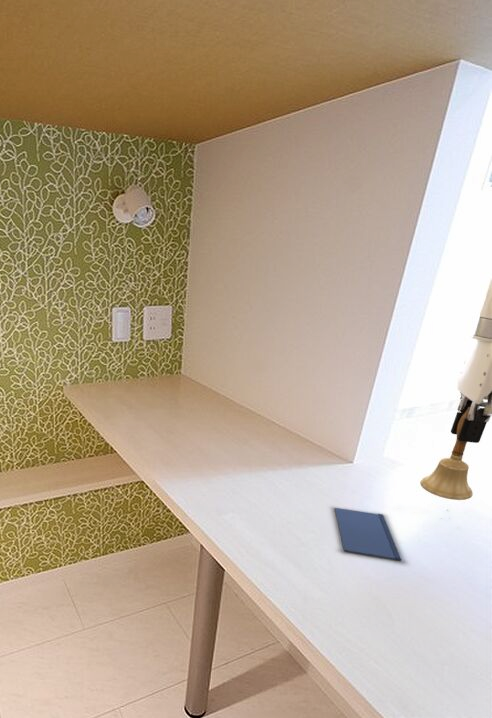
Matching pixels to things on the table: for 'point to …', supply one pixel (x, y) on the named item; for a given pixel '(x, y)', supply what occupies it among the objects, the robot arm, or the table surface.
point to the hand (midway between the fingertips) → (464, 436)
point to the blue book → (366, 534)
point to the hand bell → (451, 473)
